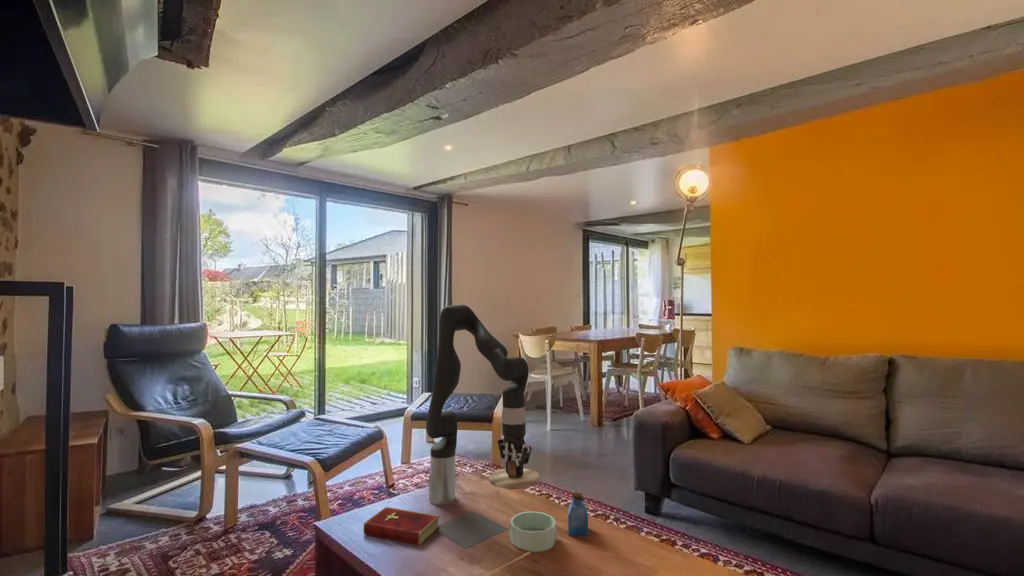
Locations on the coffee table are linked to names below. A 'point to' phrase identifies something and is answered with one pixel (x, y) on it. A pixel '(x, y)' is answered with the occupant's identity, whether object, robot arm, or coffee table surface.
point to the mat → (470, 529)
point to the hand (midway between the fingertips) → (514, 474)
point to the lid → (513, 477)
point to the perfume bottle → (577, 517)
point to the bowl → (533, 531)
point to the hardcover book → (402, 526)
